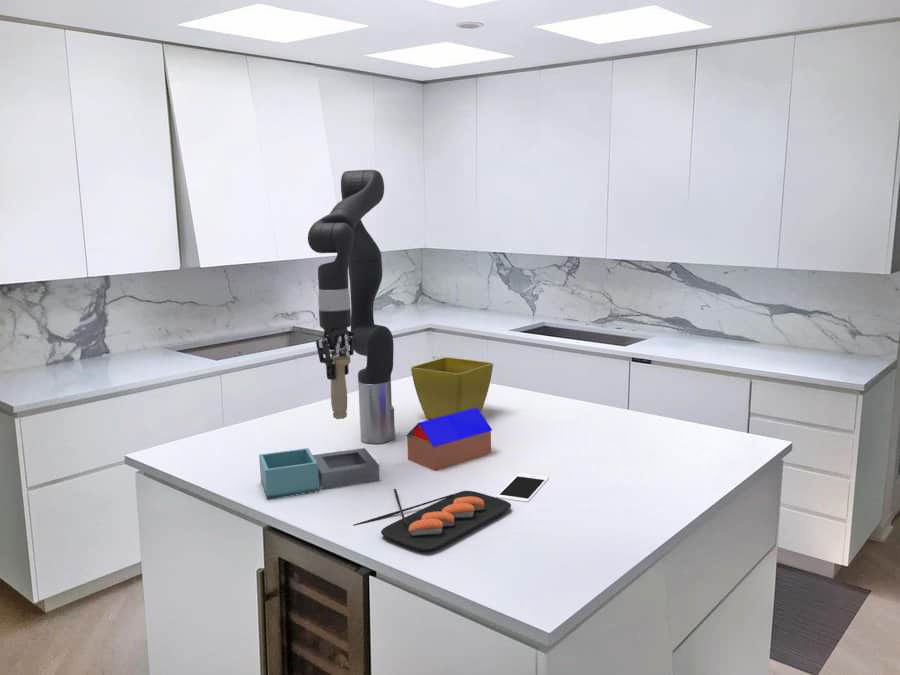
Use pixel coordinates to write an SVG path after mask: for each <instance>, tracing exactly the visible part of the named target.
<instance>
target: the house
mask: <svg viewBox="0 0 900 675" xmlns="http://www.w3.org/2000/svg"><path fill="white" fill-rule="evenodd" d="M492 431H493V428H492V427H491V426H490V424H489V423H488V421H487V420H486V418H485V417H484V415H483V414H482V411H481V412H480V411H479V409H478V408H474V409H470V410H466V411H462V412H458V413H454V414H450V415H446V416H442V417H439V418H435V419H427V420H423V421H419V422H418V423H417V424H416V425H415V426H414V427H413V428H412V429H411V430H409V432H408V433H407V434H406V435H405V437H406V438H407V440H406V441H407V443H406V444H407V445H406V446H407V460H408V461H410V462H412V463H415V464H417V465H420V466H422V467H425V468H427V469H430V470H432V471H435V472H436V471H440V470H442V469H445V468H448V467H451V466H452V467H453V466H455V465H459V464H461V463H465V462H467V461H471V460H474V459H477V458H481V457H483V456H487V455H490V454H492Z"/></svg>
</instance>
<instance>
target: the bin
mask: <svg viewBox="0 0 900 675" xmlns="http://www.w3.org/2000/svg"><path fill="white" fill-rule="evenodd" d="M313 455H314V454H313V453H312V452H311V450H310V448H309V447H306V448H300V449H299V448H298V449H290V450H284V451H283V450H282V451H275V452H268V453H261V454H258V457H259V474H260V475H259V476H260V483H261V486H262V489H263V491H264V494H265V497H266V500H272V498H273V499H279V498H278V497H280V498H286V497H291V495H293V496H297V495H296V494H299V495H303V494H302V493H306V494H310V493H309V492H312V493H316V492H315V491H319V492H320V484H319V481H318V463H317V462H316V460H315V458H314V457H313ZM285 496H286V497H285Z"/></svg>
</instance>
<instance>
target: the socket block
mask: <svg viewBox="0 0 900 675" xmlns="http://www.w3.org/2000/svg"><path fill="white" fill-rule="evenodd" d="M312 455H313V457H314V458H315V460H316V462H317V463H318V481H319V487H322V488H321V490H326V489H325V488H328V489H334V487H335V488H341V487H346V486H353V485H359V484H366V483H372V482H373V483H374V482H379V481H380V464H379V463H378V462H377V461H376V459H374V457H373V456H372V455H371V454H370V453H369V451H368V450H367V449H366V447H362V448H355V449H348V450H340V451H334V452H326V453H319V454H318V453H317V454H312Z"/></svg>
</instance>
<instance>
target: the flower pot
mask: <svg viewBox="0 0 900 675" xmlns="http://www.w3.org/2000/svg"><path fill="white" fill-rule="evenodd" d="M493 369H494V363H493V362H490V361H489V362H488V361H482V360H481V361H480V360H473V359H465V358H457V357H449V356H445V357H441V358H438V359H434V360H430V361H427V362H423V363H419V364H416V365H412V366H411V367H410V371H411V377H412V381H413V385H414V388H415V391H416V396H417V398H418V402H419V404H420V406H421V409H422V411H423V415H424V416H425V418H426V419H427V420H431V419H435V418H439V417H442V416H446V415H450V414H454V413H458V412H462V411H466V410H470V409H474V408H478V409H479V411H480V412H481V413H482V411H483V409H484V405H485V402H486V400H487V396H488V392H489V389H490V385H491V380H492V374H493Z"/></svg>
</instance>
